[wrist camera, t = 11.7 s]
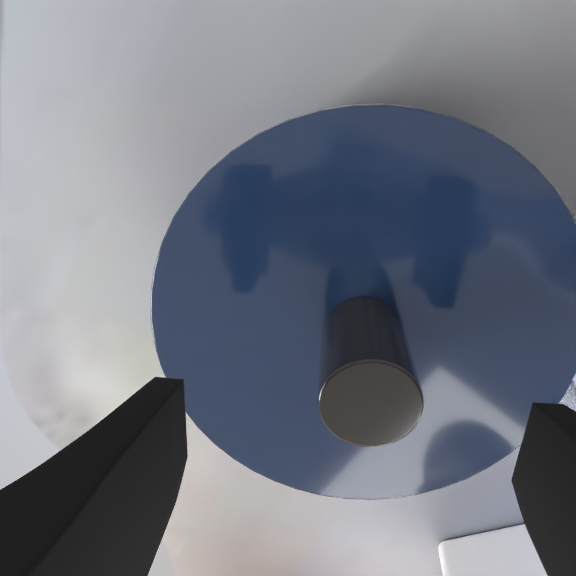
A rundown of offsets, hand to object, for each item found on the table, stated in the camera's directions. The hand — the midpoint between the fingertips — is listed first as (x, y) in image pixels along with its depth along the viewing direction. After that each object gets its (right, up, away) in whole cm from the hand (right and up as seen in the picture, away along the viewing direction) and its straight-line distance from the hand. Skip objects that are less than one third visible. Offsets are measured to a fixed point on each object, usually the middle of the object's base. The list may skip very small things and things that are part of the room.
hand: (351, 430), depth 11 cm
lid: (+1, +2, +5) cm, 5 cm away
